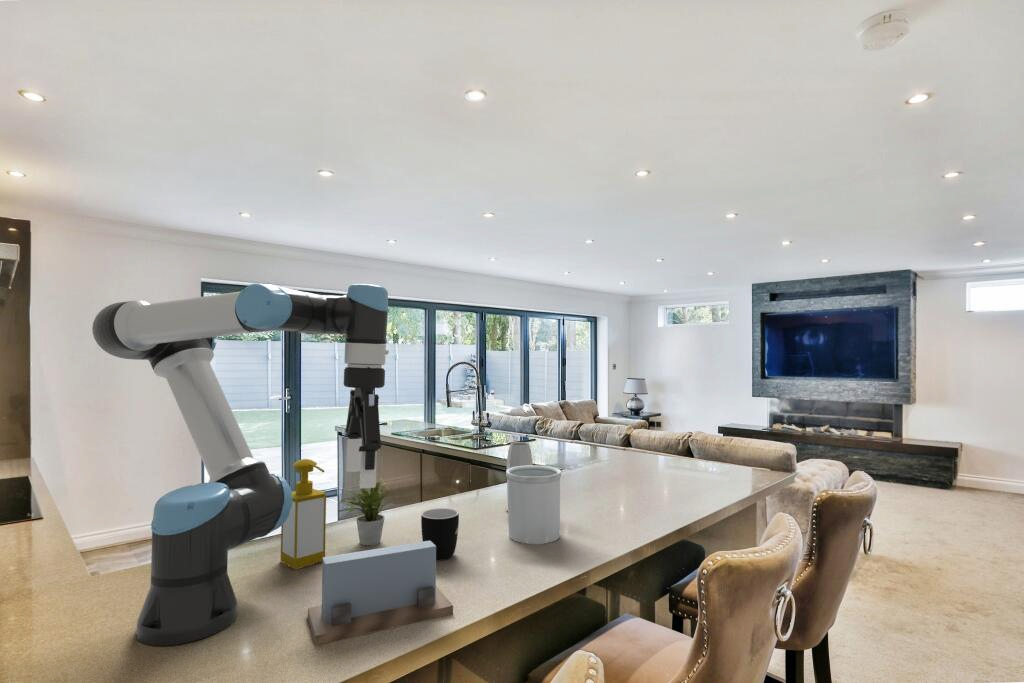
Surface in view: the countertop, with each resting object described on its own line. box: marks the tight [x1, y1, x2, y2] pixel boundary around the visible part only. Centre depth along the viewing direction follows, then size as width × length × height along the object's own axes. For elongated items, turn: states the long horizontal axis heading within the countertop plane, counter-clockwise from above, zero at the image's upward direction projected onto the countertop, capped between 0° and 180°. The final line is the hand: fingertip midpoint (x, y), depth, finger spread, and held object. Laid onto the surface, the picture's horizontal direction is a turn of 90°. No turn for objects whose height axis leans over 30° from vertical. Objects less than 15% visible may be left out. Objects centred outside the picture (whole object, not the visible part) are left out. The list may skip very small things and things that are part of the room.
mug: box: [420, 507, 460, 562], centre depth 128 cm, size 12×9×10 cm
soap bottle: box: [280, 458, 327, 570], centre depth 121 cm, size 7×13×24 cm, turn 47°
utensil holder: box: [505, 464, 562, 545], centre depth 142 cm, size 15×15×18 cm
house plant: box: [341, 477, 396, 546], centre depth 137 cm, size 14×14×16 cm
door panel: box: [321, 541, 437, 623], centre depth 97 cm, size 20×4×10 cm, turn 117°
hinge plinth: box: [307, 586, 454, 646], centre depth 97 cm, size 24×11×4 cm, turn 117°
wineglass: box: [505, 441, 533, 512], centre depth 166 cm, size 9×9×21 cm
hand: (359, 479), depth 99 cm, fingers open, 13 cm apart
